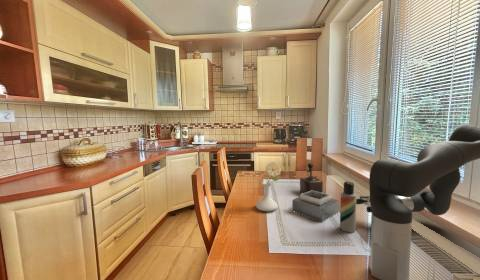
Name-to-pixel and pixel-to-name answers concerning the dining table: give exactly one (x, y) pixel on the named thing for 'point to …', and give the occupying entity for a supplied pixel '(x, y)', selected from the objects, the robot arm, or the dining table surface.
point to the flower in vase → (266, 201)
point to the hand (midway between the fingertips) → (360, 205)
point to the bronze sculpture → (310, 182)
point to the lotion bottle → (348, 208)
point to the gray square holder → (316, 205)
